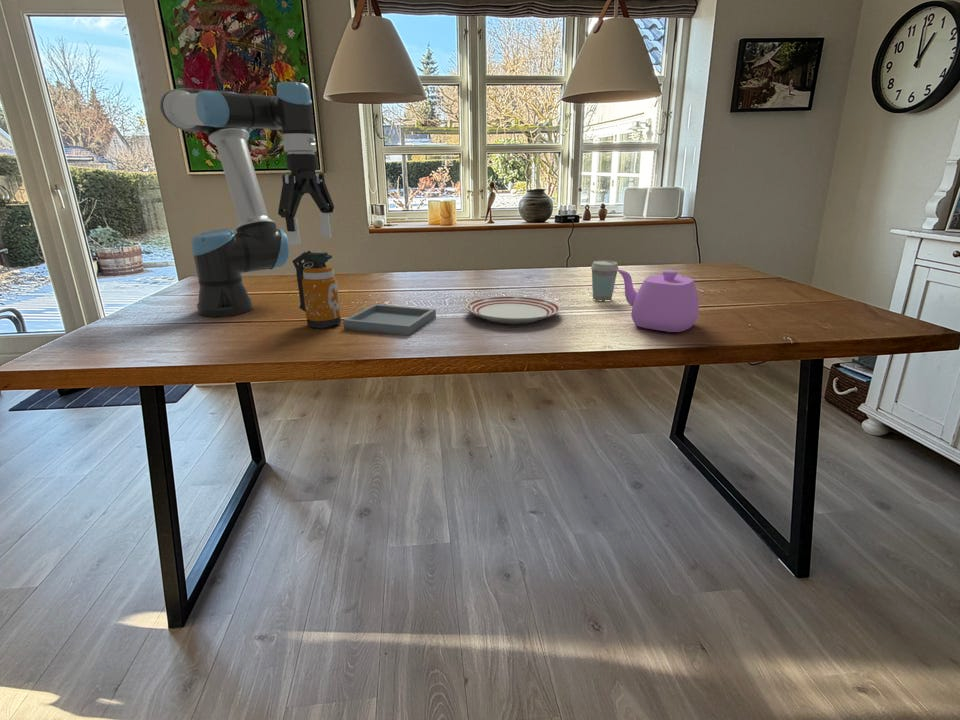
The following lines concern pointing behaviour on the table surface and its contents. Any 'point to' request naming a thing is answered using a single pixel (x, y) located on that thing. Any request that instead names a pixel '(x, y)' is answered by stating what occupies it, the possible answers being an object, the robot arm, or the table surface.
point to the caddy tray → (390, 319)
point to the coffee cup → (603, 279)
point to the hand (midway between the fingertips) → (311, 241)
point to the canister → (317, 289)
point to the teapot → (663, 301)
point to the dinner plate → (512, 309)
